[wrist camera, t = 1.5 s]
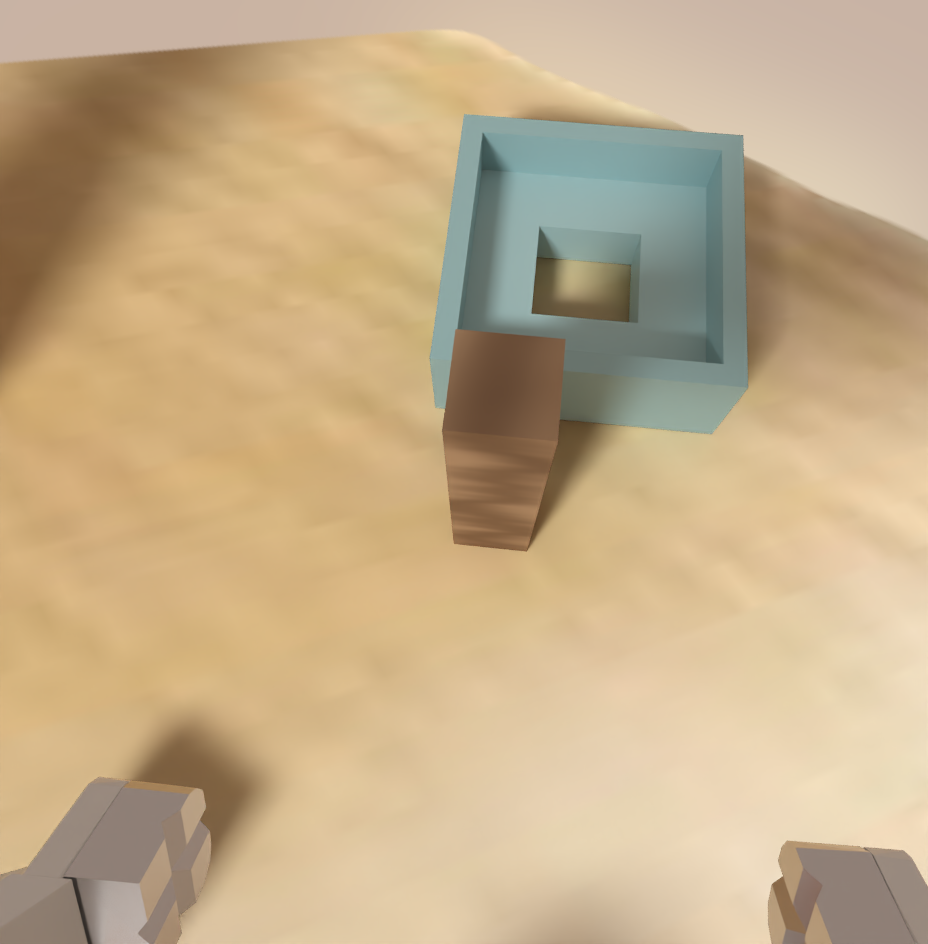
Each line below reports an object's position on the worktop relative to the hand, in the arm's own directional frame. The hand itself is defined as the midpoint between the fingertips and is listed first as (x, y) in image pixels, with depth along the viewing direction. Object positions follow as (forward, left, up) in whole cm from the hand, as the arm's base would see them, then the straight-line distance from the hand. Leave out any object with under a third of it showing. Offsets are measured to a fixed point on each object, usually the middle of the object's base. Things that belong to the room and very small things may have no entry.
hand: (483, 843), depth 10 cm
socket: (+4, +27, -28) cm, 39 cm away
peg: (0, +13, -28) cm, 31 cm away
